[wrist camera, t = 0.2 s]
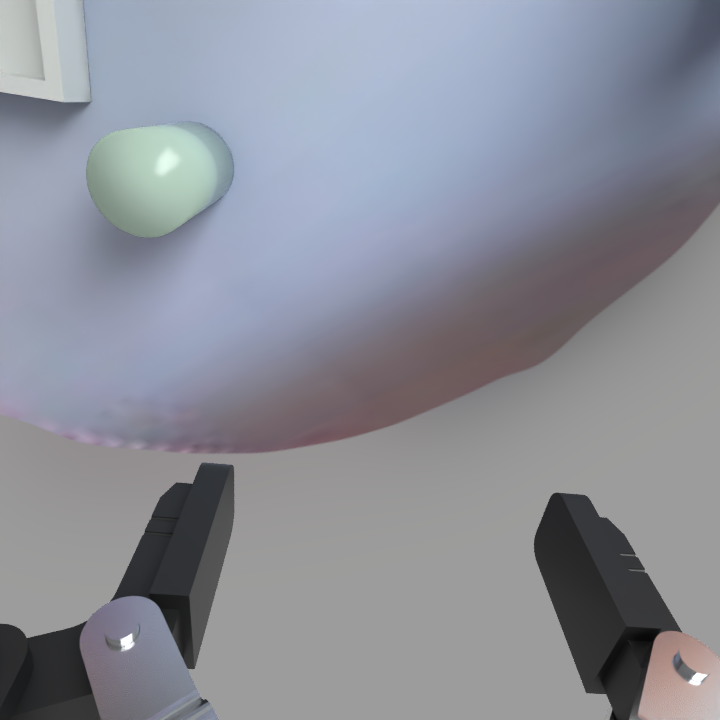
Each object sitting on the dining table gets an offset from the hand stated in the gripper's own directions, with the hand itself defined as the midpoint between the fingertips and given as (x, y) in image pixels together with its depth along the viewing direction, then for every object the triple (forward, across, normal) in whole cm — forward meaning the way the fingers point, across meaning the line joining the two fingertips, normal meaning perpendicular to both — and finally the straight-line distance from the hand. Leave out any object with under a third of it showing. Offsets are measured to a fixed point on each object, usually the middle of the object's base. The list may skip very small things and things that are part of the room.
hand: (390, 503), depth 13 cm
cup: (+29, +13, -2) cm, 32 cm away
